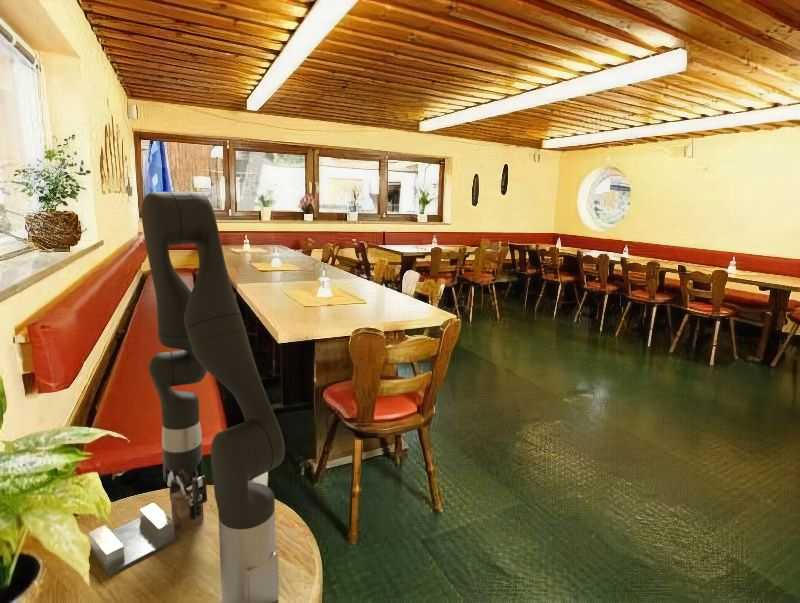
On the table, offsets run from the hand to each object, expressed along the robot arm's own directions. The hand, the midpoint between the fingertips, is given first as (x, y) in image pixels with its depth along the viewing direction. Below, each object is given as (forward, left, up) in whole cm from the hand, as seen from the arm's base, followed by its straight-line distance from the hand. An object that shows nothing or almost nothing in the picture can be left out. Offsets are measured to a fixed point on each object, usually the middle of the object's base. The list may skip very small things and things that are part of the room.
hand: (185, 508), depth 101 cm
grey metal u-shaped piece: (+2, +10, -3) cm, 11 cm away
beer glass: (-10, -10, -3) cm, 15 cm away
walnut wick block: (0, 0, -3) cm, 3 cm away
